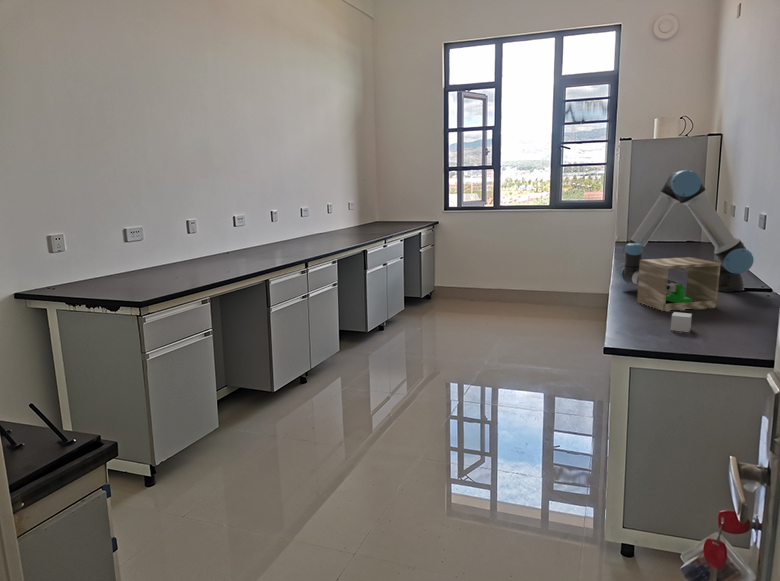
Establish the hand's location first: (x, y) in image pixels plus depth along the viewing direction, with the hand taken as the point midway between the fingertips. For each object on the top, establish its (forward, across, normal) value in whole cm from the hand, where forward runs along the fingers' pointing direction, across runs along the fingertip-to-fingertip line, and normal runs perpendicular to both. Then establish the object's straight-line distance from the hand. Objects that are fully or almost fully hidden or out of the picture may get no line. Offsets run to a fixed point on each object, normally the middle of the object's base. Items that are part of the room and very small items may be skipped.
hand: (678, 288), depth 243 cm
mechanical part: (-3, -2, -6) cm, 7 cm away
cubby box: (-2, 0, -8) cm, 8 cm away
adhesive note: (+34, +24, -8) cm, 42 cm away
